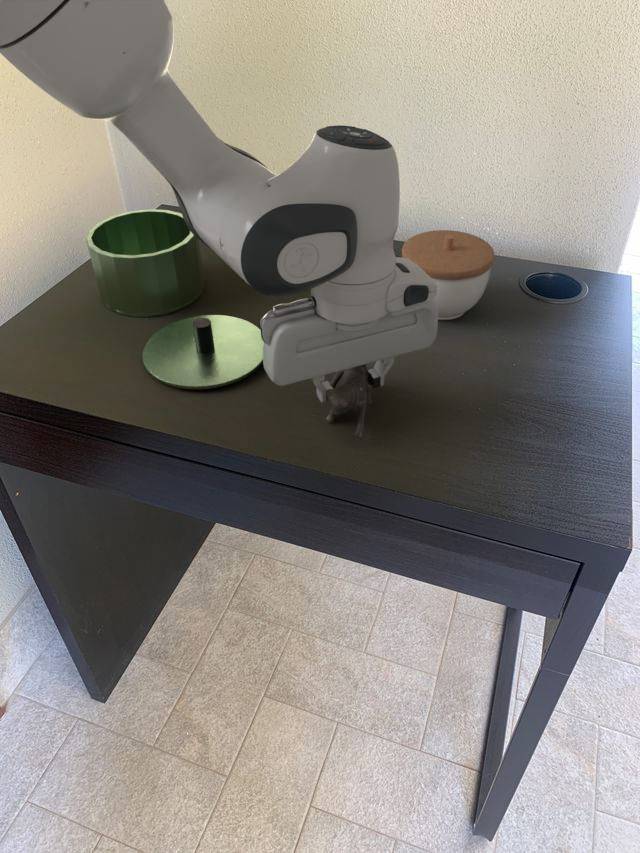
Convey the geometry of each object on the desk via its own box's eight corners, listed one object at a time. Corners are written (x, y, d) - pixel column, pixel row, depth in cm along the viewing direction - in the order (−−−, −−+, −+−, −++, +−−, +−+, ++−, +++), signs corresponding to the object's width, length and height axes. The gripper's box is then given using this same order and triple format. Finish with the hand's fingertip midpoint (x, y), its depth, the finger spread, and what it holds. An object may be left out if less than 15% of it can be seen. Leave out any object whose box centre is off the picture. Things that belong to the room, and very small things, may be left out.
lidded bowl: (382, 313, 99) (386, 243, 92) (423, 277, 107) (429, 209, 100) (462, 340, 94) (472, 267, 86) (498, 300, 101) (511, 230, 94)
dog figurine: (329, 379, 87) (331, 330, 82) (374, 383, 87) (378, 334, 82) (314, 441, 78) (315, 390, 74) (364, 447, 78) (368, 395, 73)
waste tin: (110, 327, 97) (95, 266, 91) (94, 276, 108) (79, 219, 102) (216, 304, 102) (208, 244, 95) (190, 257, 113) (181, 202, 106)
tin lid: (158, 406, 84) (151, 373, 80) (133, 336, 95) (125, 305, 92) (285, 374, 88) (283, 341, 85) (246, 311, 100) (243, 280, 97)
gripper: (268, 325, 67) (277, 430, 76) (450, 282, 73) (438, 385, 82) (249, 295, 71) (259, 397, 81) (422, 256, 77) (413, 357, 86)
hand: (350, 391), depth 81 cm, fingers closed on dog figurine, 5 cm apart
